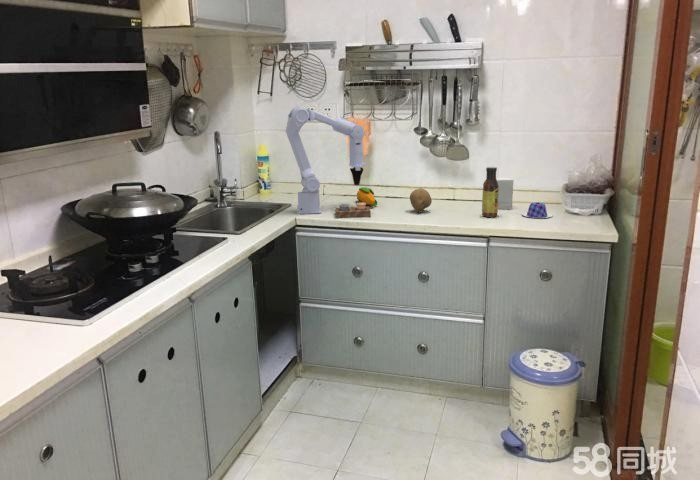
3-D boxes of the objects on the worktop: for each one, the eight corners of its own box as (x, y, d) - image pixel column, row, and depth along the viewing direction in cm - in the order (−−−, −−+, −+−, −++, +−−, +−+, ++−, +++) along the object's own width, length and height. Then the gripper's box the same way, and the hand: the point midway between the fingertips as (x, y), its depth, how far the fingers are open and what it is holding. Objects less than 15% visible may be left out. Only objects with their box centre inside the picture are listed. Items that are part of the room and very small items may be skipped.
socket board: (336, 218, 241) (336, 212, 240) (335, 213, 249) (335, 207, 249) (370, 217, 242) (370, 211, 241) (368, 212, 250) (368, 206, 250)
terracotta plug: (356, 214, 243) (356, 204, 242) (355, 211, 247) (355, 202, 246) (366, 213, 244) (366, 204, 243) (365, 211, 247) (365, 202, 246)
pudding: (558, 218, 234) (559, 205, 233) (530, 220, 232) (530, 207, 231) (543, 212, 246) (544, 200, 244) (516, 213, 244) (517, 201, 242)
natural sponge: (426, 208, 255) (427, 186, 252) (434, 213, 246) (435, 189, 244) (406, 210, 252) (407, 187, 250) (414, 214, 244) (414, 191, 241)
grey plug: (339, 216, 243) (339, 206, 242) (339, 213, 247) (339, 204, 246) (349, 215, 243) (349, 206, 242) (348, 213, 247) (348, 204, 246)
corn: (368, 183, 273) (381, 191, 255) (370, 199, 276) (382, 208, 257) (353, 185, 272) (364, 193, 253) (354, 201, 274) (366, 210, 255)
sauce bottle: (497, 218, 236) (500, 168, 231) (481, 217, 237) (483, 168, 232) (497, 214, 242) (499, 166, 237) (481, 214, 243) (483, 166, 238)
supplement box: (512, 209, 251) (514, 179, 248) (494, 209, 251) (496, 180, 248) (508, 205, 258) (509, 177, 255) (491, 205, 258) (492, 177, 255)
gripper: (367, 155, 245) (367, 187, 249) (363, 151, 259) (364, 181, 263) (350, 155, 244) (351, 188, 248) (347, 151, 258) (348, 182, 262)
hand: (356, 184), depth 255 cm, fingers closed
